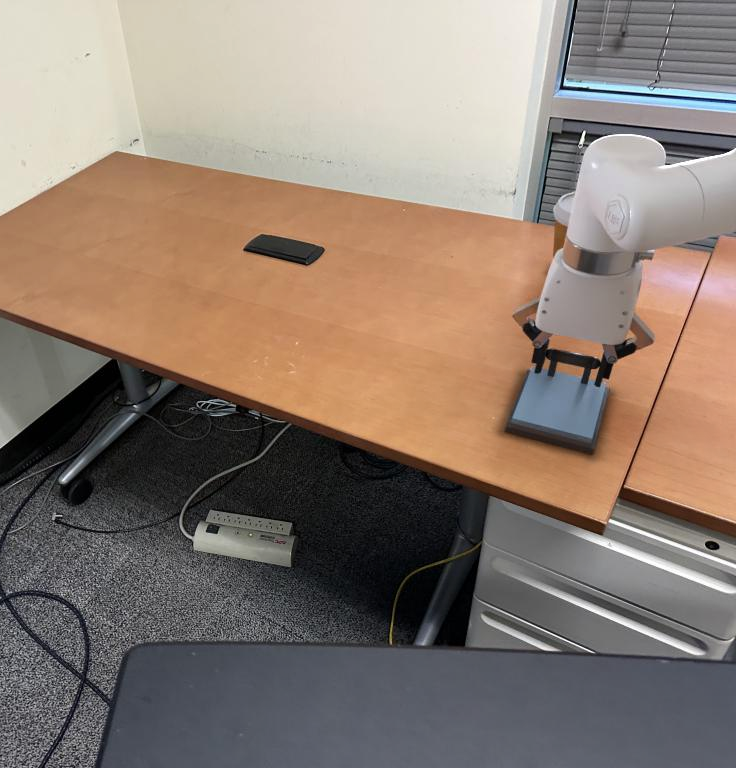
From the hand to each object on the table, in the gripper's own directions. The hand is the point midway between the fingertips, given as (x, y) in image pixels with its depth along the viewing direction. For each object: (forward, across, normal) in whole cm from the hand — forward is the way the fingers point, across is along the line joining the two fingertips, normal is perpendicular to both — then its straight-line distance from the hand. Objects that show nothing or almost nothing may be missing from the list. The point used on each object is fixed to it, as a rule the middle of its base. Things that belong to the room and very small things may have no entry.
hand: (568, 372), depth 88 cm
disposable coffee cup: (+3, +4, -29) cm, 29 cm away
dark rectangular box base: (+3, 0, +5) cm, 6 cm away
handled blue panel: (+2, 0, +4) cm, 5 cm away
